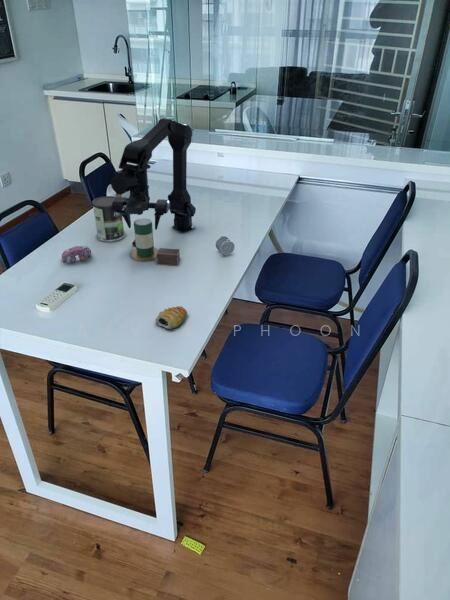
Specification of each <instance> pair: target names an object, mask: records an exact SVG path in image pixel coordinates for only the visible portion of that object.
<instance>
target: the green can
mask: <svg viewBox="0 0 450 600" xmlns="http://www.w3.org/2000/svg"><path fill="white" fill-rule="evenodd" d="M133 229H134V230H133V231H134V240H135V242H136V246H135V249H136V251H137V255H138V256H139V257H150V256H152V255H154V248H155V241H154V230H153V221H152V219H150V218H138V219H136V220H134V221H133Z"/></svg>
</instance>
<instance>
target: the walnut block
mask: <svg viewBox="0 0 450 600" xmlns="http://www.w3.org/2000/svg"><path fill="white" fill-rule="evenodd" d="M157 250H158V252H157V258H156V264H157V265H164V266H165V265H166V266H178V265H179V263H180V260H181V256H180V255H181V252H180V248H166V247H165V248H163V247H159V248H158V249H157Z"/></svg>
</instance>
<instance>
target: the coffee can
mask: <svg viewBox="0 0 450 600" xmlns="http://www.w3.org/2000/svg"><path fill="white" fill-rule="evenodd" d="M115 198H116V196H115V197H114V196H107V195H105V196H98V197H97V198H94V199H93V200H92V201H91V204H92V208H93V214H94V222H95V227H96V234H97V236H96V237H97V239H98V240H99V241H101V242H106V243H111V242H118V241H120V240H122V239H123V238H124V237H126V236H125V235H126V234H125V227H124V218H123V216H122V215H121V214H120V213H117V212H116V211H113V210H112V207H111V204H112V202H113V201H114V200H115Z"/></svg>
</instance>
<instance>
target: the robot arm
mask: <svg viewBox="0 0 450 600" xmlns="http://www.w3.org/2000/svg"><path fill="white" fill-rule="evenodd" d="M166 138H167V141H168V144H169V146H170V147H171V150H172V191H171V192H170V194H167V199H161V198H158V199H157V200H156V202H151V201H150V200H151V197H150V194H149V193H150V191H149V189H150V185H149V179H148V170H149V169H150V168H151V167H152V165H150V164H149V162H150V160H151V159H152V157H153V151H154V150H155V149H156V148H157V147H158V146H159V145H160V144H161V143H162V142H163V141H164V140H165V139H166ZM192 139H193V129H192V127H191V126H190V125H189V124H183V123H180V122H178V121H176V120H174V119H170V118H165V117H163V118H160V119H159V120H158V122H157V123H156V124H155V125H154V126H153V127H152V128H151V129H150V130H148V132H147V133H146V134H144V135H143V137H141V138H140V139H137V140H133V141H131V142H129V143H128V144H126V145H125V147H124V148H123V152H122V155H121V158H120V162H119V165H118V169H120V170H116V171H115V172H114V176H113V177H111V180H110V185H111V186H112V188H113V190H114V191H115V192H116V193H117V194H124V193H126V192H128V191H130V196H129V199H127V197H116V196H115V197H116V198H115V200H114V201H113V202H112V204H111V207H112V210H113V211H116V212H117V213H120V214H121V215H122V218H123V220H124V221H125V223H126V226H127V227H128V229H131V228H132V220H131V215H138V216H141V215H143V214H144V212H145V211H149V209H153V210H154V214H153V215H154V230H155V231H157V230H158V227H159V224H160V220H161V217H162V216H164V215H165V214H168V212H169V211H170V214H172V215H173V216H174V218H173V226H172V227H171V228H172V229H174V230H176V231H177V232H180V233H183V234H184V233H185V232H188V231H192V230H194V229H195V226H193V217H195V215H196V212H197V211H196V210H197V209H196V206H194V205H193V203H192V198H191V195H190V193H189V192H188V191H189V190H188V189H187V169H188V168H187V167H188V166H187V162H188V161H187V160H188V159H187V154H188V153H187V152H188V148H189V147H190V146H191V144H192Z"/></svg>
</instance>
